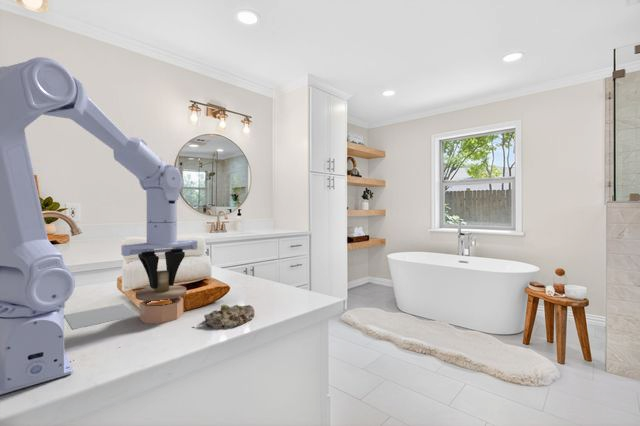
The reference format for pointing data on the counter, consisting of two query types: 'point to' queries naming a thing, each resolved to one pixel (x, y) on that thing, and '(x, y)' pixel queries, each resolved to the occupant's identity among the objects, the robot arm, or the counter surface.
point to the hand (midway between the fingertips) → (162, 286)
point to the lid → (161, 289)
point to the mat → (98, 316)
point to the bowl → (161, 311)
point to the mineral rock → (229, 316)
